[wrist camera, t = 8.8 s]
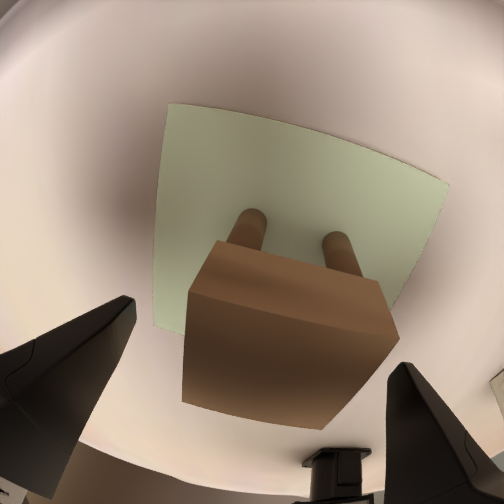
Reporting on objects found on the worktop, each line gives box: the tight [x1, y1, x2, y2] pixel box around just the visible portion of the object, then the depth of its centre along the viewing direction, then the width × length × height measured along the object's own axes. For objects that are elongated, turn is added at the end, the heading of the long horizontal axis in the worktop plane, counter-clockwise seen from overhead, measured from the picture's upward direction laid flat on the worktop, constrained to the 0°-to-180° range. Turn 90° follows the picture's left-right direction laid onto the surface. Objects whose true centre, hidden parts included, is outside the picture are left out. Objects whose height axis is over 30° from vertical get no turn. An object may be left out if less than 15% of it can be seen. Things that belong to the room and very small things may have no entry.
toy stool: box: [182, 208, 400, 430], centre depth 9 cm, size 5×5×6 cm
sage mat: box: [153, 103, 450, 336], centre depth 13 cm, size 12×12×1 cm
